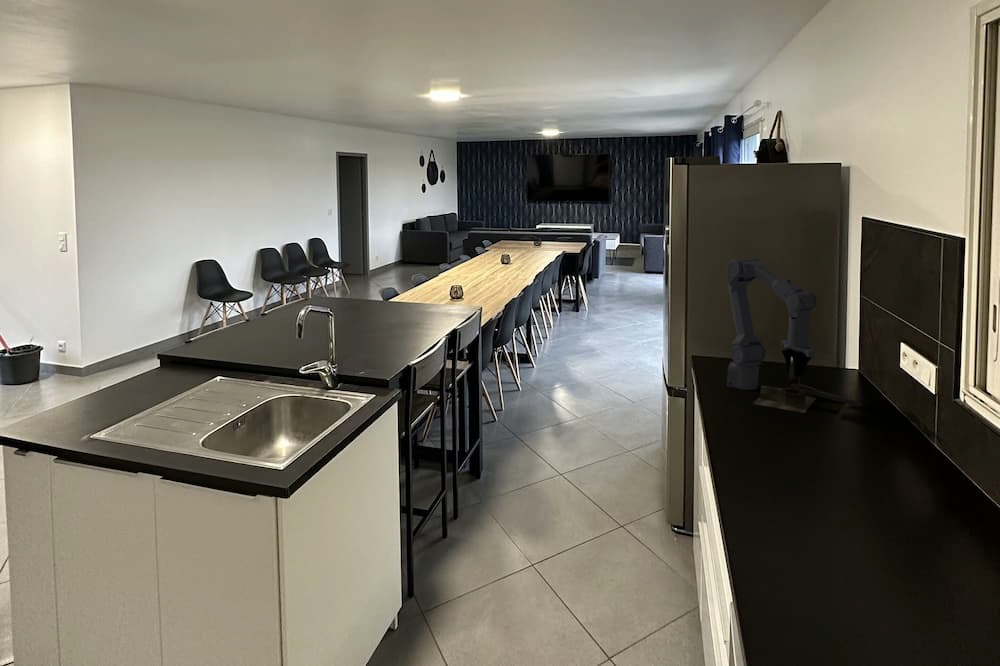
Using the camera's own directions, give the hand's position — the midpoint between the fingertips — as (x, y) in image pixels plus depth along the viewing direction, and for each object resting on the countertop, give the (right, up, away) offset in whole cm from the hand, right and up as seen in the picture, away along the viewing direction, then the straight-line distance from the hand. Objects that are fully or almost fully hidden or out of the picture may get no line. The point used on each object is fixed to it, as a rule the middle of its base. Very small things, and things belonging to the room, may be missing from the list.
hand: (794, 374), depth 199 cm
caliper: (+11, -9, +4) cm, 15 cm away
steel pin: (0, -2, 0) cm, 3 cm away
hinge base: (-1, -10, +5) cm, 11 cm away
